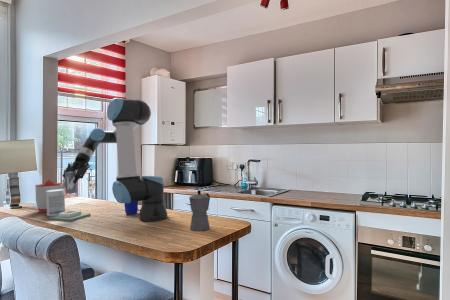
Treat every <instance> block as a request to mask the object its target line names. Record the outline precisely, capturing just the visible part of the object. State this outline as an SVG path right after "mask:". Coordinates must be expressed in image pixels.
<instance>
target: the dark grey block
mask: <svg viewBox="0 0 450 300" xmlns="http://www.w3.org/2000/svg"><path fill="white" fill-rule="evenodd" d="M64 172H65V171H64ZM76 173H77V171H75V172H65V188H64V195H65V194H67V195H72V194H76V193H77V192H78V191H77V183H76V184H74V186H73V188H72V189H70V188H69V184H70V182H71V180H72V179H73V177H75V175H76Z"/></svg>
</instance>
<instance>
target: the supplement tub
mask: <svg viewBox="0 0 450 300" xmlns="http://www.w3.org/2000/svg"><path fill="white" fill-rule="evenodd" d="M65 200H66V199H65V189H58V190H49V191H46V207H47V212H46V216H48V217H53V216H57V215H59V213H62V212H66V204H65V203H66V202H65Z"/></svg>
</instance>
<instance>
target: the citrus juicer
mask: <svg viewBox="0 0 450 300" xmlns="http://www.w3.org/2000/svg"><path fill="white" fill-rule="evenodd" d="M61 184H62V182H54V181H52V179H48V180H47V181H45V183H40V184H35V185H34V187H35V201H36V202H35V204H36V208H37V210H38V211H39V212H40V213H42V214H43V213H44V214H45V213H46V214H47V207H46V191H49V190H58V189H62V187H61Z"/></svg>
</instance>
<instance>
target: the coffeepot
mask: <svg viewBox="0 0 450 300" xmlns="http://www.w3.org/2000/svg"><path fill="white" fill-rule="evenodd" d="M196 191H197V194H193V195H190V196H189V197H188V199H189V204H190V205H189V206H190V211H191V213H192V215H191V220H190V228H189V229H190V231H193V232H197V233H198V232H206V231H208V230H210V223H209V216H208V214H207V213H208V210H209V206H210V201H211V196H210V194H209V193H203V194H201V190H199V189H198V190H196Z"/></svg>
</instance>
